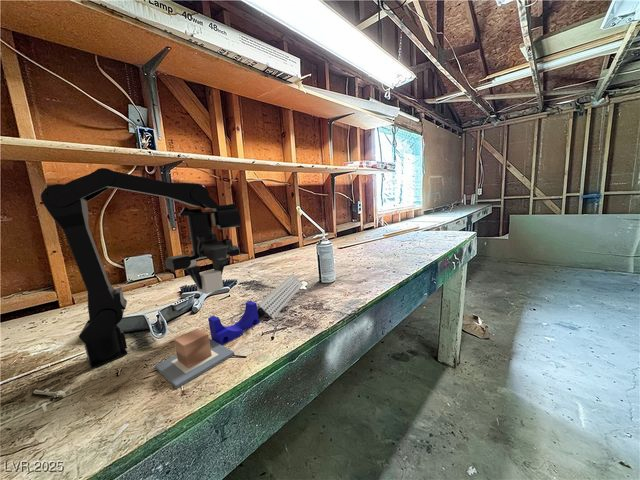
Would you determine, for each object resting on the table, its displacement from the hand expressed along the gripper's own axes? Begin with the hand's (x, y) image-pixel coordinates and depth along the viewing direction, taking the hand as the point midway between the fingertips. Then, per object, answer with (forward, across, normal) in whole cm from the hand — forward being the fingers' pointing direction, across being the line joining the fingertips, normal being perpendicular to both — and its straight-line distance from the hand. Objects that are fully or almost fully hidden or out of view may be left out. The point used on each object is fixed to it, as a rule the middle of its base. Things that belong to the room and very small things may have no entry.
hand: (209, 286), depth 71 cm
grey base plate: (+11, -13, -14) cm, 22 cm away
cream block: (+1, 0, 0) cm, 1 cm away
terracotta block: (+10, -13, -14) cm, 21 cm away
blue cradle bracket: (+11, 0, -12) cm, 16 cm away
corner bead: (+11, +21, -5) cm, 24 cm away
